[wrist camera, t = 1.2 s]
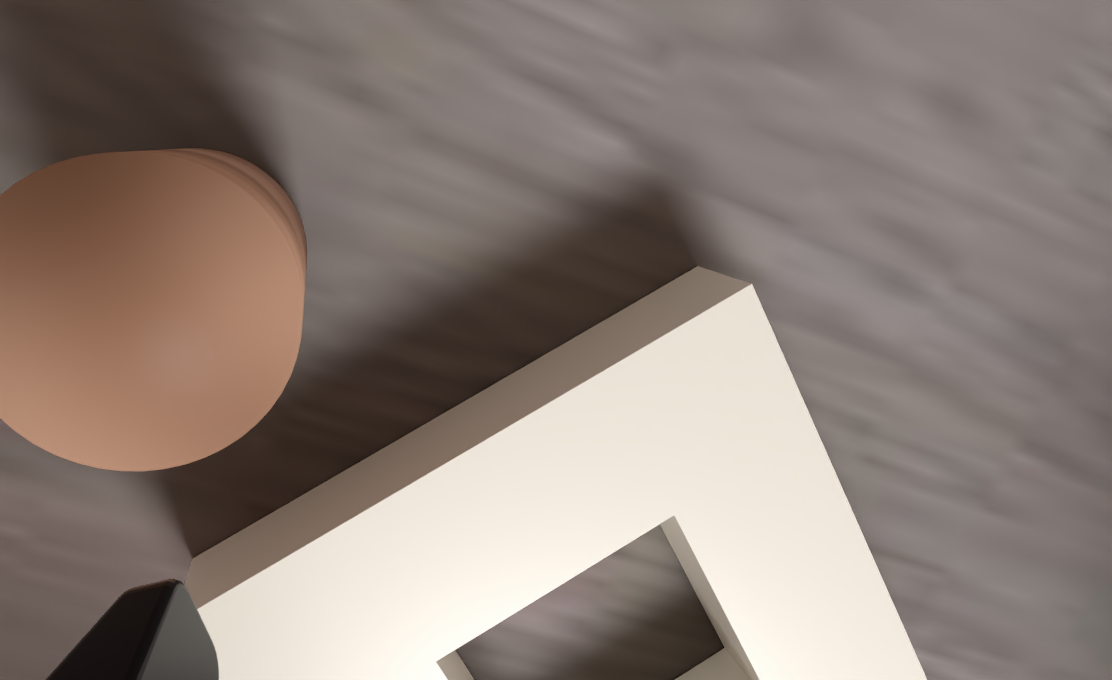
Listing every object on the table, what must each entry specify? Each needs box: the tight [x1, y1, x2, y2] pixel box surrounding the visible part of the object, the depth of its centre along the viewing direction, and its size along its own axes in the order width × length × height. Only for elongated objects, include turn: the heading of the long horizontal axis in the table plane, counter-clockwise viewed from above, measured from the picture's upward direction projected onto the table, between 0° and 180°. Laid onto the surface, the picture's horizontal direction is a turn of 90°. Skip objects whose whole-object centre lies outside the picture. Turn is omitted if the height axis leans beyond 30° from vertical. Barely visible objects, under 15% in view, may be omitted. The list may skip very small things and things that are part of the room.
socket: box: [185, 266, 927, 680], centre depth 23 cm, size 14×14×3 cm
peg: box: [0, 148, 307, 471], centre depth 16 cm, size 4×4×8 cm
